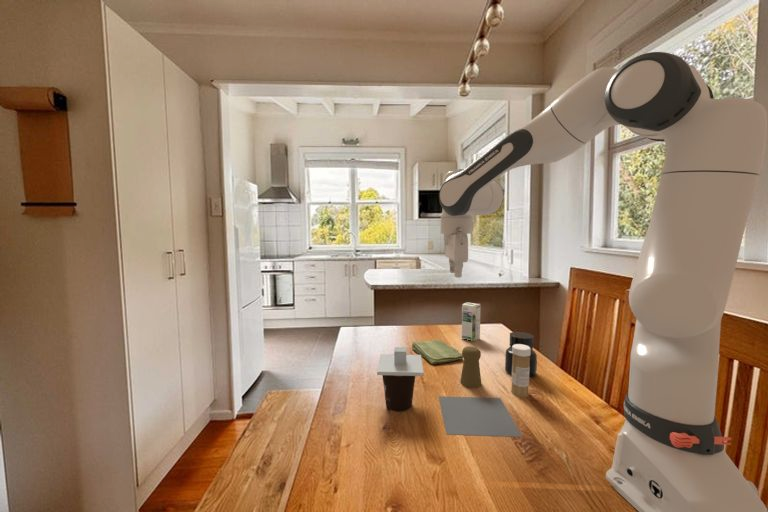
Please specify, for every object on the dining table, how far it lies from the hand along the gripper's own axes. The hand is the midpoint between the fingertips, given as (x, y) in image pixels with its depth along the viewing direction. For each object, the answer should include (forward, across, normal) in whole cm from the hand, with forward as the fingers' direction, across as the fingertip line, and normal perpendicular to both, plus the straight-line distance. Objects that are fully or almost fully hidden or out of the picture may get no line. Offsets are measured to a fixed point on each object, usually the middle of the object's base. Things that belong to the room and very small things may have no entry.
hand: (455, 274), depth 96 cm
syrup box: (+31, +35, -12) cm, 48 cm away
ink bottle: (+31, +4, -21) cm, 38 cm away
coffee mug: (+31, -16, +16) cm, 39 cm away
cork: (+31, -5, -4) cm, 32 cm away
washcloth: (+32, +18, +4) cm, 37 cm away
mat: (+31, -21, -2) cm, 38 cm away
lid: (+21, -16, +16) cm, 31 cm away
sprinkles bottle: (+31, -10, -16) cm, 37 cm away
